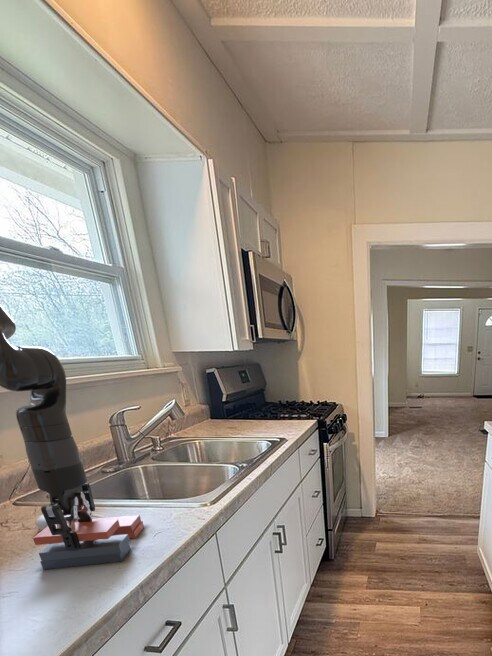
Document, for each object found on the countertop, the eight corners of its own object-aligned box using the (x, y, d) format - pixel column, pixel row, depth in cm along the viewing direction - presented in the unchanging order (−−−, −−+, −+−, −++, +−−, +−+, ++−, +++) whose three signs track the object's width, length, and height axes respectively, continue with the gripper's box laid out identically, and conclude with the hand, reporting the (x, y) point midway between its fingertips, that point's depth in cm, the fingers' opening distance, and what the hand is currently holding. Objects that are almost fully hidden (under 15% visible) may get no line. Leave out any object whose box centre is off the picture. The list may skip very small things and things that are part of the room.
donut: (27, 533, 94) (63, 535, 92) (22, 520, 93) (58, 522, 91) (65, 516, 103) (99, 518, 102) (61, 504, 102) (95, 506, 100)
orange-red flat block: (72, 544, 89) (67, 531, 88) (84, 532, 94) (80, 519, 93) (135, 537, 91) (132, 525, 90) (144, 526, 97) (141, 514, 96)
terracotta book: (35, 545, 76) (32, 537, 76) (52, 531, 82) (49, 524, 81) (108, 539, 79) (106, 531, 78) (120, 526, 85) (118, 519, 84)
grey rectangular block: (42, 569, 79) (36, 553, 77) (56, 556, 84) (51, 541, 82) (123, 561, 82) (118, 545, 80) (132, 549, 87) (128, 534, 85)
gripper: (53, 453, 80) (77, 529, 87) (9, 474, 67) (41, 561, 74) (95, 451, 82) (116, 526, 88) (60, 472, 69) (87, 557, 75)
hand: (82, 541), depth 81 cm, fingers closed on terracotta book, 6 cm apart
